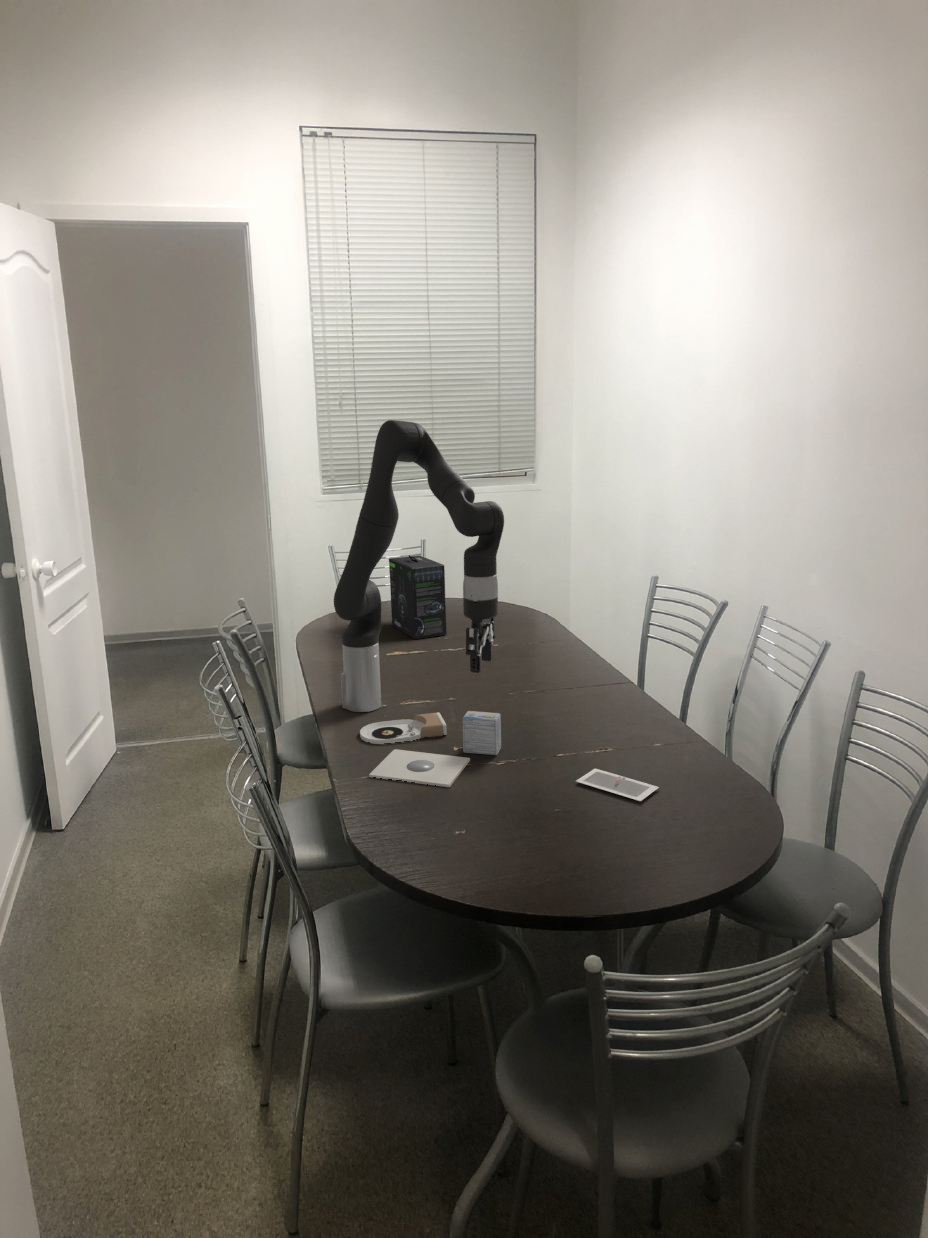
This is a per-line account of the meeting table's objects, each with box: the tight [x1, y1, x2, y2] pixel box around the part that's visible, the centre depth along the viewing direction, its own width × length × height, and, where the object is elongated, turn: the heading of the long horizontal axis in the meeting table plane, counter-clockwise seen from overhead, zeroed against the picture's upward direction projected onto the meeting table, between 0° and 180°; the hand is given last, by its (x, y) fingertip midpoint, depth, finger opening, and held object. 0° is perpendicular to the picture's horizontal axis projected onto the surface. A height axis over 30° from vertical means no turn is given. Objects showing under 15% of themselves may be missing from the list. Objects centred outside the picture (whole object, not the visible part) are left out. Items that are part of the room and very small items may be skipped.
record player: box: [359, 712, 448, 745], centre depth 209 cm, size 12×3×20 cm
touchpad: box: [575, 768, 660, 802], centre depth 179 cm, size 8×15×2 cm, turn 51°
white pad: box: [368, 748, 471, 788], centre depth 189 cm, size 18×14×1 cm
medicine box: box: [462, 710, 502, 756], centre depth 197 cm, size 8×4×9 cm, turn 74°
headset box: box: [388, 554, 448, 640], centre depth 296 cm, size 22×12×26 cm, turn 25°
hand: (481, 666), depth 193 cm, fingers open, 8 cm apart
